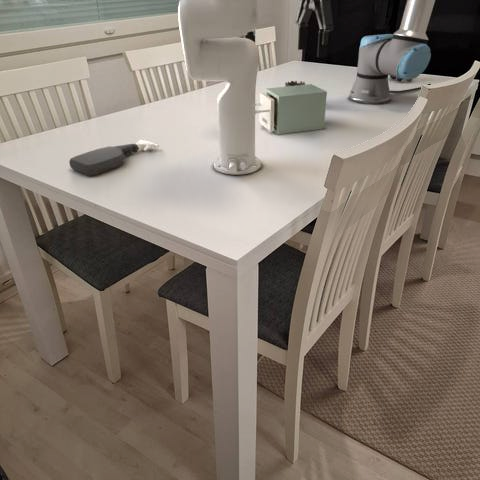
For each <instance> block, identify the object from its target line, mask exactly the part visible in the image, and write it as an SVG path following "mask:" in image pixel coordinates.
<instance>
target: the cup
mask: <svg viewBox="0 0 480 480" xmlns="http://www.w3.org/2000/svg"><path fill="white" fill-rule="evenodd" d="M297 85H306V82H305V81H302V80H300V81H299V82H298V80H295V81H294V80H291V81H287V82H285V84H284V87H287V86H297Z"/></svg>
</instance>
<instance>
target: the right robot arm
mask: <svg viewBox="0 0 480 480" xmlns="http://www.w3.org/2000/svg"><path fill="white" fill-rule="evenodd" d="M435 2H436V0H406V3H405V7H404V11H403V15H402V18H401V23H400V26H399V29H398V30H397V31H395V32H394V33H386V34H373V35H365V36H363V37H362V38H361V40H360V45H359V49H358V58H357V59H358V60H357V68H356V69H357V70H356V77H355V80H354V82H353V84H352V88H351V90H350V92H349V97H348V98H349V100H350V101H352V102H355V103H360V104H366V105H380V104H384V103H388V102H390V98H391V94H402V93H408V92H413V91H419V90H422V89H421V87H422V86H418V87H414V88H409V89H403V90H402V89H401V90H390V85H389V76H390V75H391V76H395V77H396V78H397V77H398V78H400V79H401V78H402V80H409V79H412V80H414V79H416V78H418V77H419V76H420V75H422V74H423V72H425V70H426V69H427V67H428V66H429V63H430V61H431V57H432V53H431V48H430V46H428V42H429V38H428V35H427V33H426V32H427V29H428V25H429V23H430V19H431V16H432V12H433V8H434V5H435ZM313 12H315V15H316V19H317V24H318V27H319V30H318V37H317V50H316V57H317V58H325V57H327V55H328V44H329V33H330V32H332V31H334V19H333V12H332V4H331V0H299V5H298V8H297V13H296V17H295V24H297V27H298V37H297V50H298V51H303V50H307V48H308V33H309V31H308V30H309V20H310V18H311V16H312V13H313ZM431 84H432V83H427V84H426V85H431Z"/></svg>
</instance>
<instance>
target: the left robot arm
mask: <svg viewBox="0 0 480 480" xmlns="http://www.w3.org/2000/svg"><path fill="white" fill-rule="evenodd" d="M258 13H259V11H258V0H179V1H178V7H177V15H178V27H179V33H180V39H181V40H180V41H181V46H182V53H183V60H184V64H185V70H186V73H187V76H188V77H189V78H190V79H192V80H193V81H198V82H225V83H226V85H225V86H224V87H223V88H222V90H221V91H220V92H219V94H218V96H217V100H216V110H217V111H216V112H217V133H218V135H217V136H218V137H217V138H218V157H216V158H215V159H214V160H213V167H214V169H215V170H216V171H217V172H219V173H222V174H226V175H233V176H234V175H238V176H239V175H247V174H252V173H254V172H256V171H258V170H259V169H260V168H261V166H262V161H261V159H260V158H259V157H258V156H256V115H255V110H256V106H255V104H256V90H257V89H256V87H257V76H258V70H259V62H260V61H259V60H260V50H259V47H258V44H257V43H256V30H257V29H258V27H259V15H258Z"/></svg>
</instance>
